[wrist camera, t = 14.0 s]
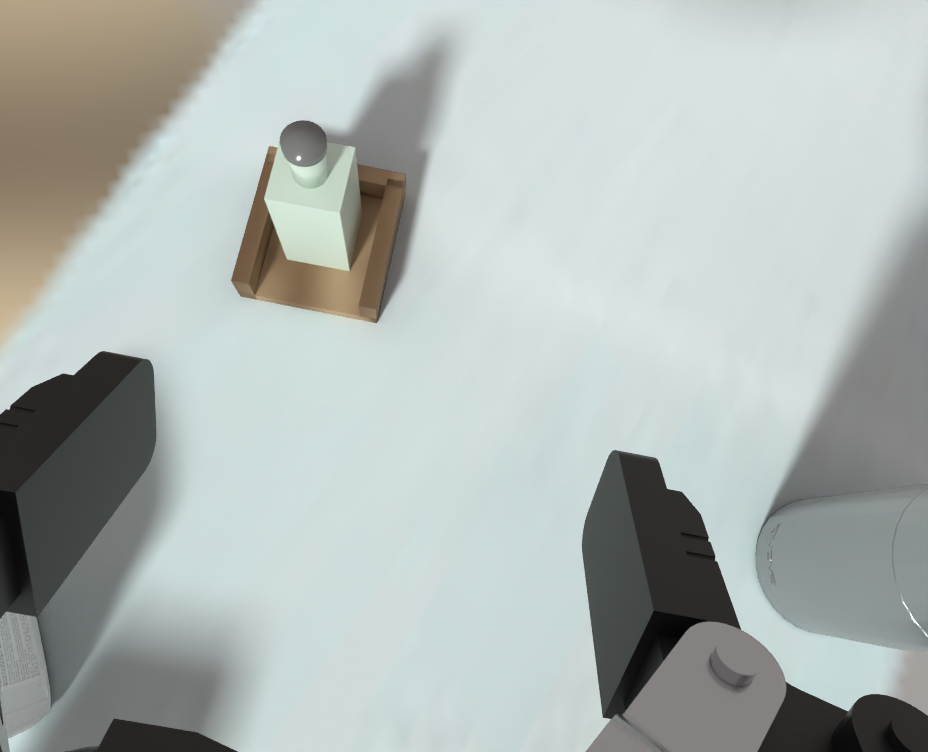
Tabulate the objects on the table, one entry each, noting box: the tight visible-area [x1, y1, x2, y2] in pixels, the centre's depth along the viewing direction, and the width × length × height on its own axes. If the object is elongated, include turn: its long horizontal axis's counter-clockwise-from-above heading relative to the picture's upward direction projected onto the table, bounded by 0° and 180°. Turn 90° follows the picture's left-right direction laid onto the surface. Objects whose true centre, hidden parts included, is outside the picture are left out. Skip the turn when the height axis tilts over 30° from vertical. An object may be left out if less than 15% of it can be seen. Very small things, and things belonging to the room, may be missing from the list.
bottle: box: [264, 121, 362, 271], centre depth 46 cm, size 5×5×12 cm
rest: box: [231, 146, 406, 323], centre depth 51 cm, size 10×11×3 cm
